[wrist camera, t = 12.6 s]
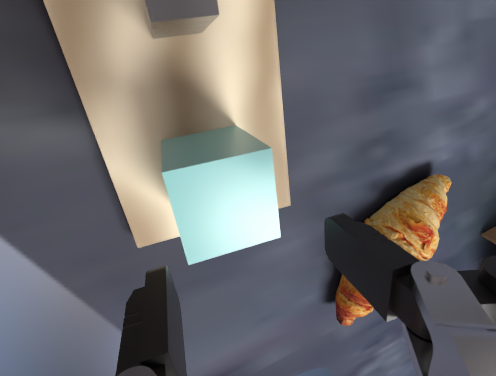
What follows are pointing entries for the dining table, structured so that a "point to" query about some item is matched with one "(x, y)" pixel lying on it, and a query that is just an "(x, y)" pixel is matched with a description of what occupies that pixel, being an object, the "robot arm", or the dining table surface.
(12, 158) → the dining table surface
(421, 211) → the croissant
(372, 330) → the dining table surface
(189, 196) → the light blue cube
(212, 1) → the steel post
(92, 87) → the birch board
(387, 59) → the dining table surface
